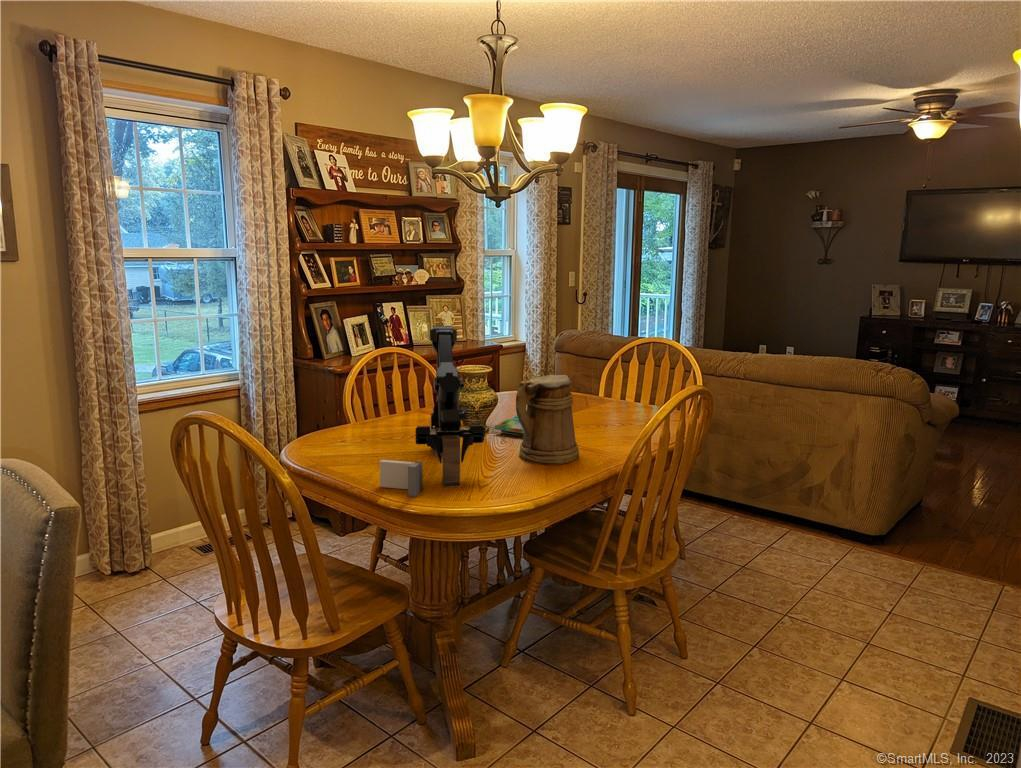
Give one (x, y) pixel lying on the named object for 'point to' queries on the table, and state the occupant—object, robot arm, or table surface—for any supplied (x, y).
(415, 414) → the table surface
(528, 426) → the tankard
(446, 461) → the doorstop post
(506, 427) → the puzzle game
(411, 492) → the gray upright block
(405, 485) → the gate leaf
